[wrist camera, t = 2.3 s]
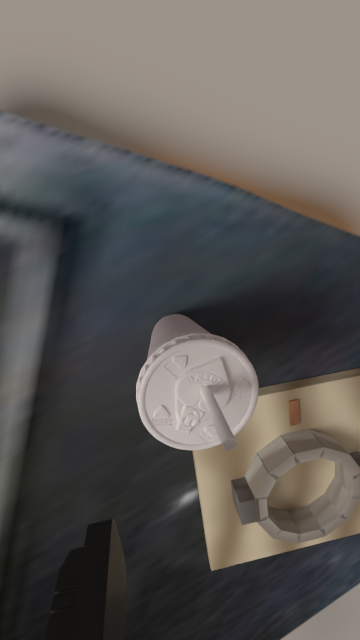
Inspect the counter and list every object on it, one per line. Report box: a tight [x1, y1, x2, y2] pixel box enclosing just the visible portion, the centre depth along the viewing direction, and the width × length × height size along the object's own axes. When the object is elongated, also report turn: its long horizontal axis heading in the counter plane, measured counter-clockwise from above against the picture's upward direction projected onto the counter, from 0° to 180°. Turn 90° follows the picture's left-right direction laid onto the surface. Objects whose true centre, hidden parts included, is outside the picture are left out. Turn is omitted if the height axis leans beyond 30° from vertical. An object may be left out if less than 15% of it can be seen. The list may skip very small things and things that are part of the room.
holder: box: [192, 368, 360, 571], centre depth 29 cm, size 18×18×4 cm
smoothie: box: [136, 314, 259, 451], centre depth 19 cm, size 6×6×14 cm
